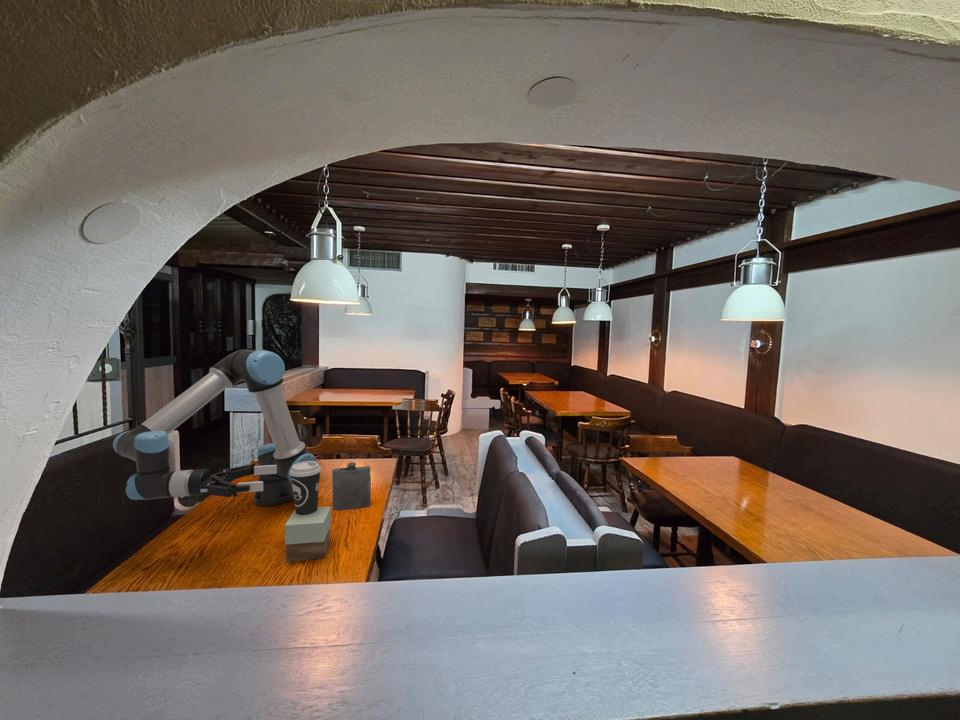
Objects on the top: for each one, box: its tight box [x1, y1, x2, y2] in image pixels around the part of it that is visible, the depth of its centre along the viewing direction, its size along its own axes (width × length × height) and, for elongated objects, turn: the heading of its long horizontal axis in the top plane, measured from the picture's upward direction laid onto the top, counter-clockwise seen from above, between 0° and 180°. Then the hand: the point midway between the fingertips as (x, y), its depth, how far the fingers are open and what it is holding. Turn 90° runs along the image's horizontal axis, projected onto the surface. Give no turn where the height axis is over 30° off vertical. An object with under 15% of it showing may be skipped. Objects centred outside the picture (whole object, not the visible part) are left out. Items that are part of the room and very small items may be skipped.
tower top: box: [284, 506, 332, 546], centre depth 123 cm, size 11×11×6 cm
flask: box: [331, 462, 372, 511], centre depth 154 cm, size 4×14×18 cm, turn 106°
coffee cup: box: [289, 461, 323, 515], centre depth 126 cm, size 10×10×15 cm
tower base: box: [285, 527, 331, 563], centre depth 124 cm, size 11×11×6 cm
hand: (270, 477), depth 121 cm, fingers open, 13 cm apart
